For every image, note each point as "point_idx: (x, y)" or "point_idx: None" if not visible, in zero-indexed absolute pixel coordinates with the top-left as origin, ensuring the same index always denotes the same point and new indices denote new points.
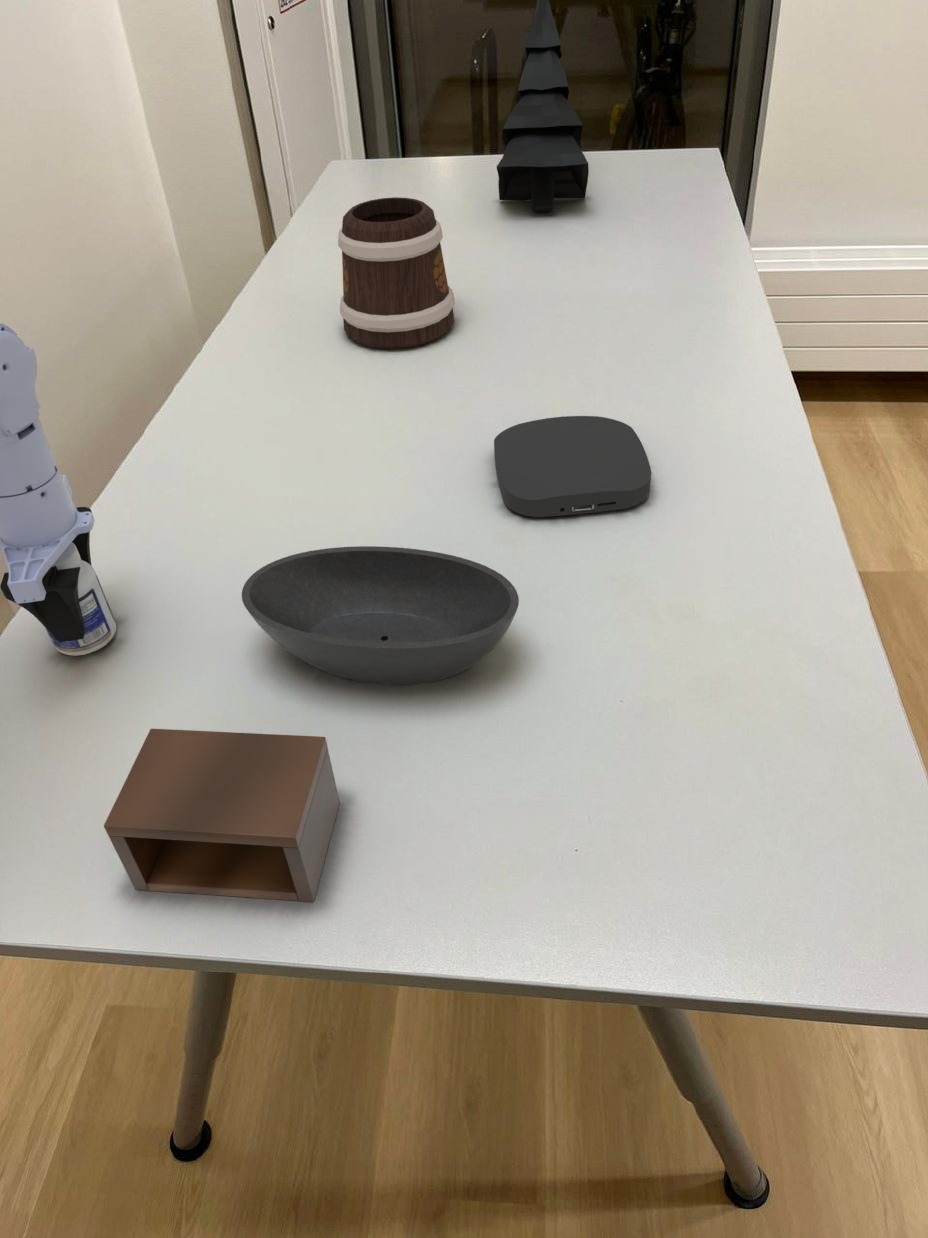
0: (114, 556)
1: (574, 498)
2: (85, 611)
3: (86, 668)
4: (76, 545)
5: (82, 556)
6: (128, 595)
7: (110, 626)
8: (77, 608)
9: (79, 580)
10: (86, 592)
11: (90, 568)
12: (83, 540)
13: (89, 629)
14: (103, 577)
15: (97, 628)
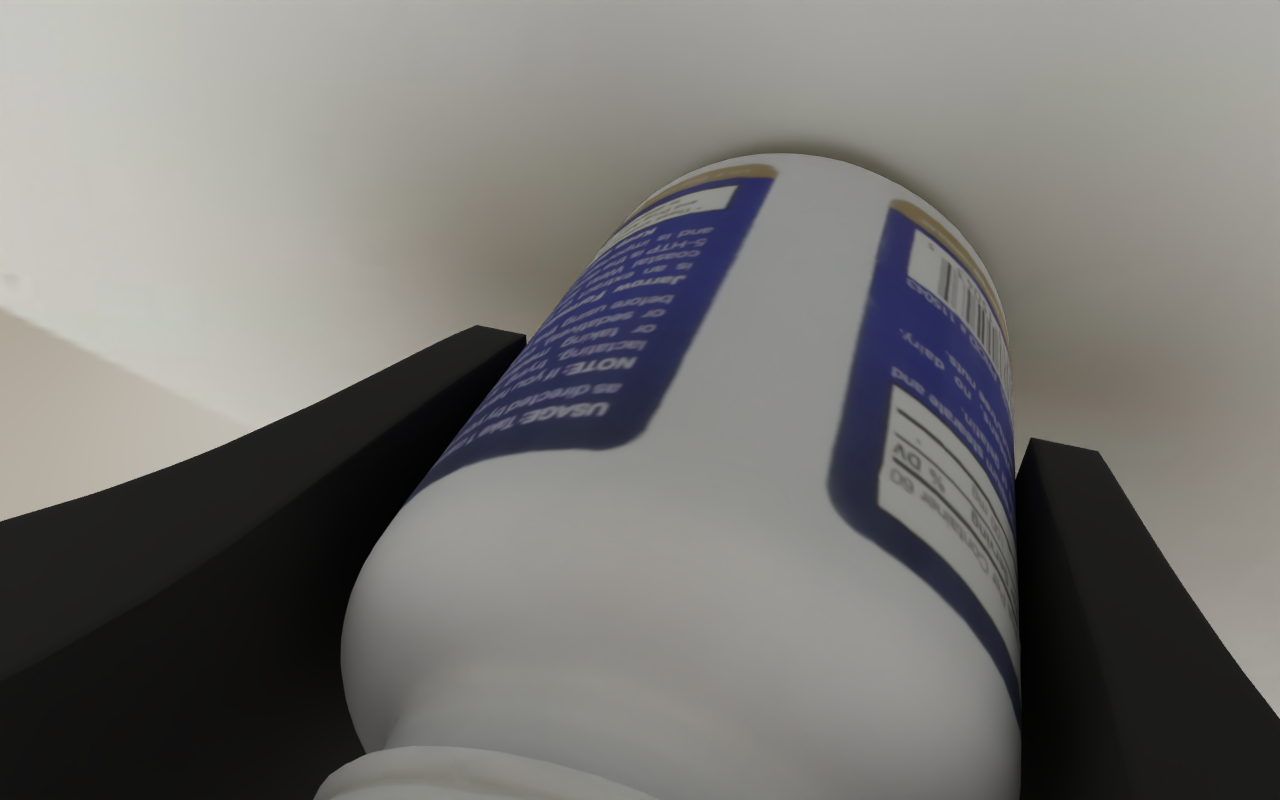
0: (56, 135)
1: None
2: (987, 506)
3: (1101, 353)
4: (181, 691)
5: (289, 559)
6: (401, 53)
7: (869, 208)
8: (1264, 735)
9: (821, 729)
10: (925, 592)
11: (548, 557)
12: (100, 674)
13: (1003, 403)
14: (233, 204)
15: (969, 331)
